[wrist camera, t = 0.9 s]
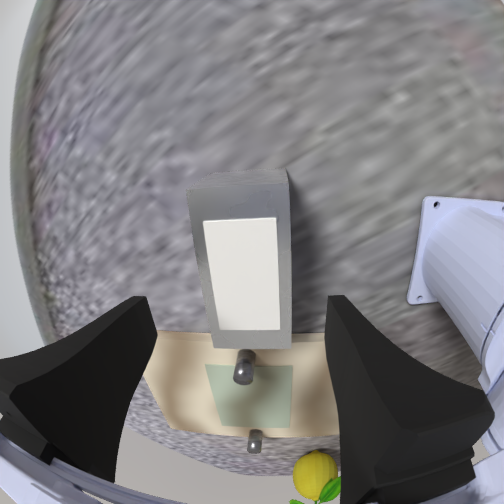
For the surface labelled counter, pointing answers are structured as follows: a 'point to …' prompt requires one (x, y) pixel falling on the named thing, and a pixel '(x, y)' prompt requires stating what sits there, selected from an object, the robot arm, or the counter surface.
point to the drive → (244, 256)
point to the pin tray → (243, 387)
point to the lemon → (316, 477)
